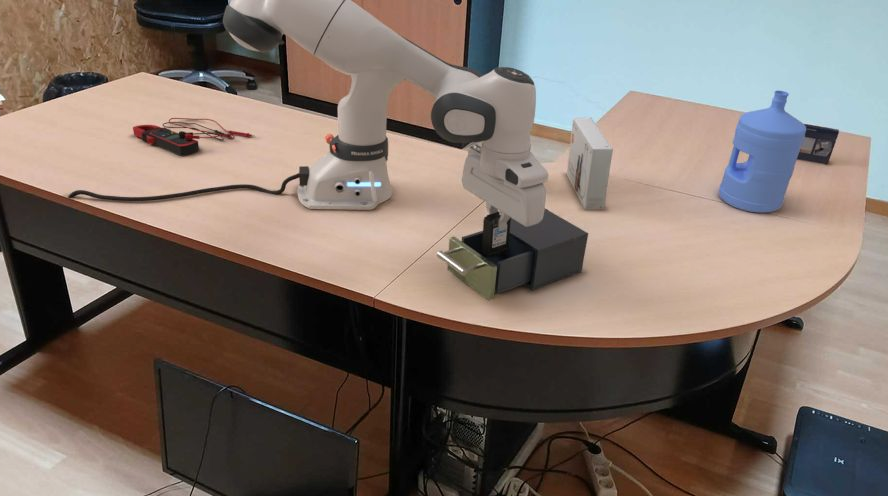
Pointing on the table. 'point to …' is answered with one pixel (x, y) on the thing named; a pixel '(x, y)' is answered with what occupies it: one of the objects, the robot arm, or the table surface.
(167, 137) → the digital clamp meter
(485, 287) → the drawer
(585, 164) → the skincare box
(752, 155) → the water jug
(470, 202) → the table surface
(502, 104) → the robot arm
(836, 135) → the vhs cassette tape
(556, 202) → the table surface
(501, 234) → the ink cartridge
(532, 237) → the cabinet
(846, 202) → the table surface
